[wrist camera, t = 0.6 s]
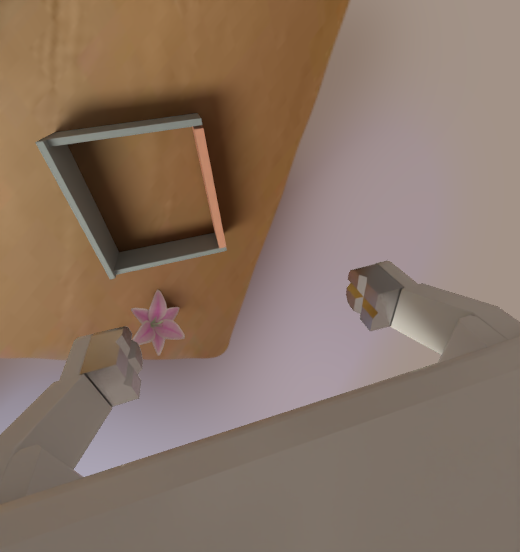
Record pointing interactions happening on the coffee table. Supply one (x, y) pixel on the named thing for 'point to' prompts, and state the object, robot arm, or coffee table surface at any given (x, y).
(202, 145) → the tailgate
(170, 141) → the coffee table surface
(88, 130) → the frame
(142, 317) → the lily
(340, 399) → the robot arm
